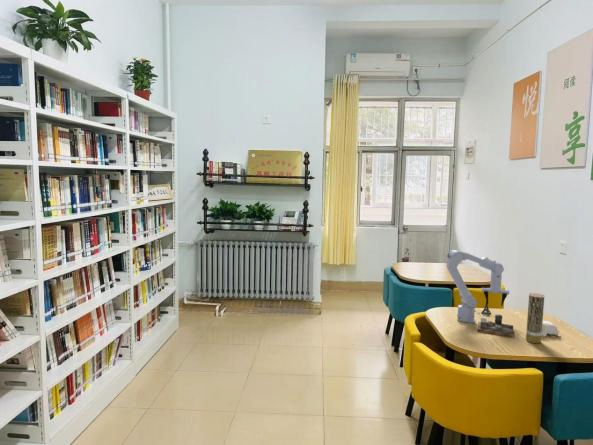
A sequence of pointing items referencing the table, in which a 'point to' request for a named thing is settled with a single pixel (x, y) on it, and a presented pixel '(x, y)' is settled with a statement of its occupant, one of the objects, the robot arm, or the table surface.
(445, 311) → the table surface
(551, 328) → the white curved shape
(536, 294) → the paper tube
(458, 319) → the robot arm
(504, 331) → the vise base
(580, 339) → the table surface
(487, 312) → the eiffel tower figurine
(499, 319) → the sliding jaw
